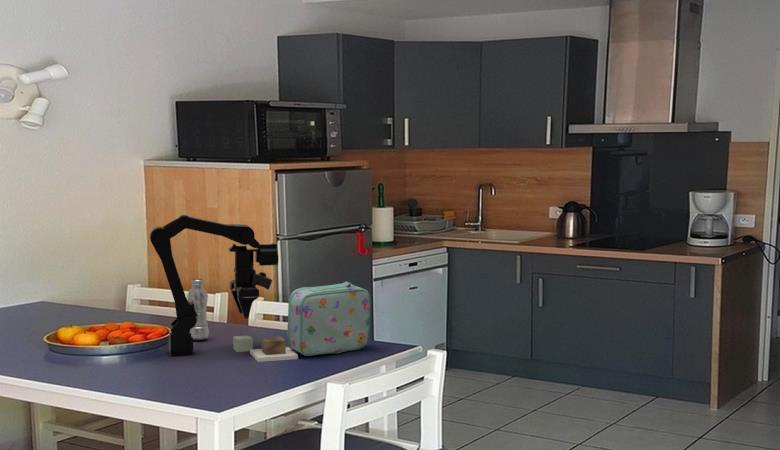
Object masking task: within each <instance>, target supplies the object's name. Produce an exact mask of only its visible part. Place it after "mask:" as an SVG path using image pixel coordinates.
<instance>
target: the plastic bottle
mask: <svg viewBox="0 0 780 450" xmlns="http://www.w3.org/2000/svg"><path fill="white" fill-rule="evenodd" d="M204 285H205V283H204V279H203V278H192V279H191V288H190V289H189V291H188V292H187V295H186V296H187V297H186V298H187V300H188V301H189V302H191V301H193V302H194V306H195V310H196V311H197V314H198V317H197V316H196V319H197V323H196V325H195V326H194V327H193V328H192V329H190V332H191V336H192V337H193V341H203V340H206V339H208V337H209V334H210V333H209V325H208V318H207V311H208V310H207V308H208V298H209V296H208V292H207V291H206V289H205V287H204Z"/></svg>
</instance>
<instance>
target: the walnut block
mask: <svg viewBox="0 0 780 450" xmlns="http://www.w3.org/2000/svg"><path fill="white" fill-rule="evenodd" d="M286 347H287V345H286V339H284V338H283V337H282V336H271V337H269V336H268V337H261V349H262V352H263V353H264V354H265V355H274V354H286Z"/></svg>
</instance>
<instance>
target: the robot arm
mask: <svg viewBox="0 0 780 450" xmlns="http://www.w3.org/2000/svg"><path fill="white" fill-rule="evenodd" d="M186 229H187V230H192V231H196V232H201V233H206V234H209V235H210V234H211V235H216V236H220V237H224V238H226V239H228V240H230V241H233V242H236V243H238V244H240V245H237V244H236V243H232V245H231V246H230V247H229V248H228V252H230V253H233V252H234V268H233V273H234V279H232V280H230V282H229V290H230V293H231V295H232V298H233V300H234V302H235V306H236V307H237V310H238V312H239V314H242V315H243V318H244V319H246V320H248V319H249V316H250V313H251V309H252V305H253V302H255V301H256V300H257V299H259V297H260V290H259V289H258V288H257V286H259V287H262V288H264V289H265V290H270V287H271V285H272V282H273V279H272V278H270V277H267V273H265V272H263V271H260V272H259V273H257V270H255V269H254V259H255V263H258V265H259V266H260V267H261V266H263V267H264V266H265V267H267V266H278V265H279V252H278V244H277V243H264V244H263V243H260V242H259V241H258V240H257V239H256V237H255V231H254V229H252V227H251V226H249V225H248V224H241V223H240V224H239V223H237V224H235V223H229V224H228V223H221V222H215V221H212V220H206V219H204V218H203V219H202V218H198V217H194V216H189V215H187V214H182V215H179V216H178V218H176V219H174V220H171V222H169V223H166V224H165V225H163V226H155V227H154V228H153V229H152V230H151V232H150V233H149V234H150V235H149V239H150V242H151V245H152V246H153V249H154V250H155V252H156V254H157V255H158V257H159V259H160V261H161V264H162V267H163V269H164V274H165V276H166V279H167V282H168V286H169V289H170V292H171V295H172V298H173V301H174V307H175V314H176V318H175V319H174V320H173V321H172V322H171V323H170V324H169V329H170V332H169V333H168V334H169V335H168V336H169V337H168V338H169V339H168V341H169V342H168V343H169V344H168V346H169V347H168V348H169V349H168V353H169V355H170V356H187V355H193V352H194V340H193V337H192V336H191V332H190V329H192V328H193V327H194V326H195V325H196V323H197V319H196V316H197V317H198V314H197V311H196V310H195V306H194V302H193V301H191V302H189V301H188V298H187V297H186V296H187V295H186V293H185V290H184V287H183V284H182V281H181V278H180V274H179V272H178V268H177V266H176V262H175V260H174V257H173V249H172V243H171V239H172V238H174V237H175V236H177V235H178V234H180V233H181V232H183V231H184V230H186ZM247 246H250V247H251V248H247ZM254 253H255V254H254Z"/></svg>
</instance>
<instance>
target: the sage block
mask: <svg viewBox="0 0 780 450" xmlns="http://www.w3.org/2000/svg"><path fill="white" fill-rule="evenodd" d="M253 339H254V338H253V337H252V336H250V335H236V336H232V348H233V350H234V351H235V352H236V353H241V352H242V353H243V352H250V350H251V349H254V345H253V344H254V342H253V341H254V340H253Z"/></svg>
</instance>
